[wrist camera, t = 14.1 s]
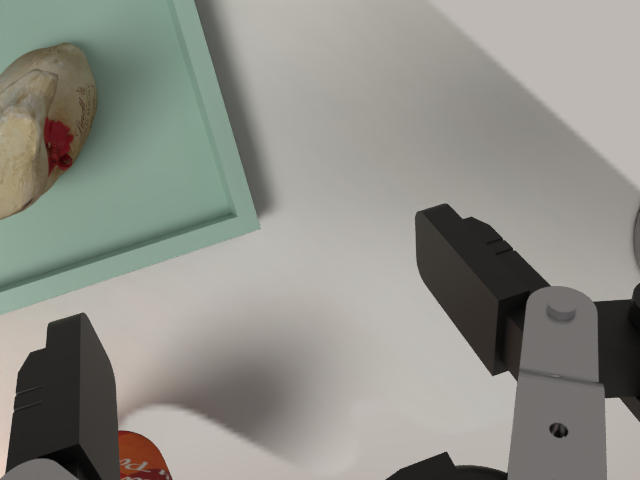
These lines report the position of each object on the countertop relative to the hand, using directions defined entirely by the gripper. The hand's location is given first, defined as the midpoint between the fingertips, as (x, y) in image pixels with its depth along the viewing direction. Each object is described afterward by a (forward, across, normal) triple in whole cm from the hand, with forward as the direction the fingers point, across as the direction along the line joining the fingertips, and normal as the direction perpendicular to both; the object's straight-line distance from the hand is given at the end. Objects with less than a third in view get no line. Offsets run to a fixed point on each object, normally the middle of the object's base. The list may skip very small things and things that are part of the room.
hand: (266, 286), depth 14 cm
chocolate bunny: (+19, -7, -2) cm, 20 cm away
